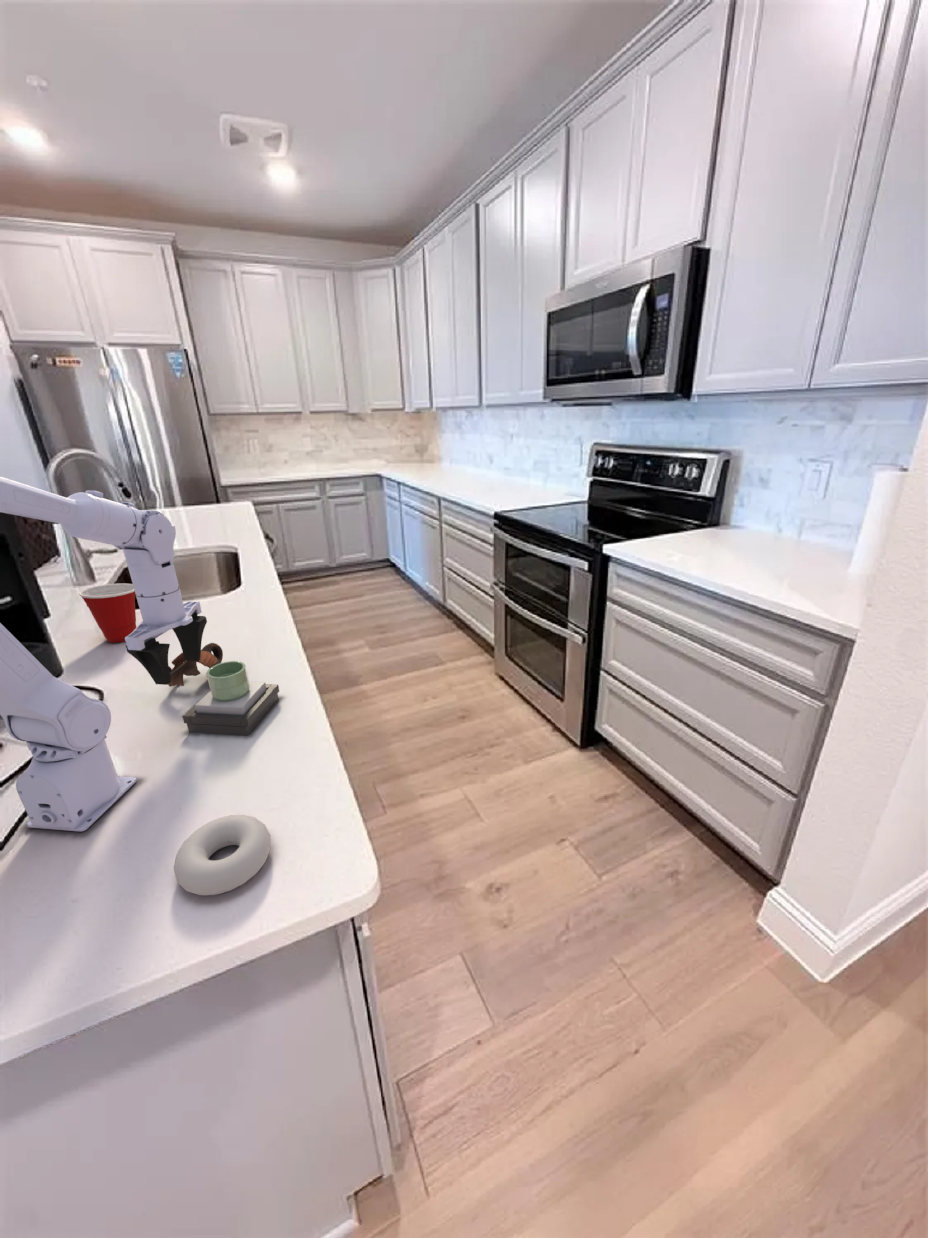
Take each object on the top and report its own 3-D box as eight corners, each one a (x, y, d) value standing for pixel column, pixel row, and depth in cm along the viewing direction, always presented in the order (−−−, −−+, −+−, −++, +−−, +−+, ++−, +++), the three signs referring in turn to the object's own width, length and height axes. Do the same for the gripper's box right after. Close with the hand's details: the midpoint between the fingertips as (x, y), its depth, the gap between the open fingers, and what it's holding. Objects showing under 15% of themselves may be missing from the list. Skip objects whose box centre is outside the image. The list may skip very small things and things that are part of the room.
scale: (250, 735, 80) (246, 719, 79) (186, 732, 81) (181, 716, 80) (281, 698, 90) (278, 684, 89) (223, 696, 92) (220, 681, 90)
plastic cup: (160, 632, 118) (147, 583, 114) (113, 651, 110) (97, 599, 105) (131, 624, 123) (117, 577, 118) (84, 642, 114) (67, 592, 109)
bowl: (238, 703, 81) (233, 678, 80) (205, 701, 82) (199, 677, 80) (256, 685, 87) (251, 661, 85) (224, 683, 87) (219, 660, 86)
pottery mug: (219, 699, 91) (184, 669, 87) (183, 714, 95) (148, 686, 90) (246, 654, 101) (215, 625, 97) (212, 669, 104) (182, 642, 100)
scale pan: (243, 716, 81) (241, 707, 80) (196, 714, 82) (194, 705, 81) (267, 690, 88) (265, 682, 87) (223, 688, 89) (221, 680, 88)
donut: (280, 878, 56) (266, 818, 64) (275, 856, 54) (261, 796, 63) (178, 920, 52) (177, 849, 60) (170, 896, 50) (169, 827, 58)
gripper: (148, 609, 68) (172, 696, 74) (210, 576, 82) (227, 652, 87) (101, 608, 69) (128, 694, 74) (170, 575, 83) (189, 650, 88)
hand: (179, 671), depth 81 cm, fingers open, 7 cm apart
